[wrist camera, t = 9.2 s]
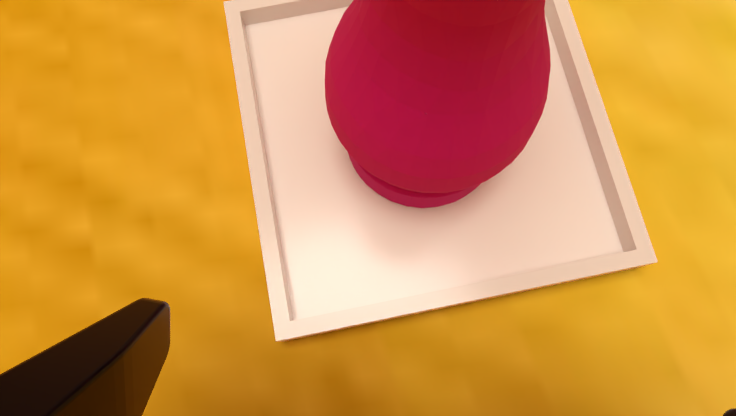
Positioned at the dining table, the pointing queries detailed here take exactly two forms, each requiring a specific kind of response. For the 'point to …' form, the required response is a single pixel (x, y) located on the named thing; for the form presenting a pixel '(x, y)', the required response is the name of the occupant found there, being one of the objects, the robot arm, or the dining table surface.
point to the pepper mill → (436, 92)
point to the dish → (410, 224)
